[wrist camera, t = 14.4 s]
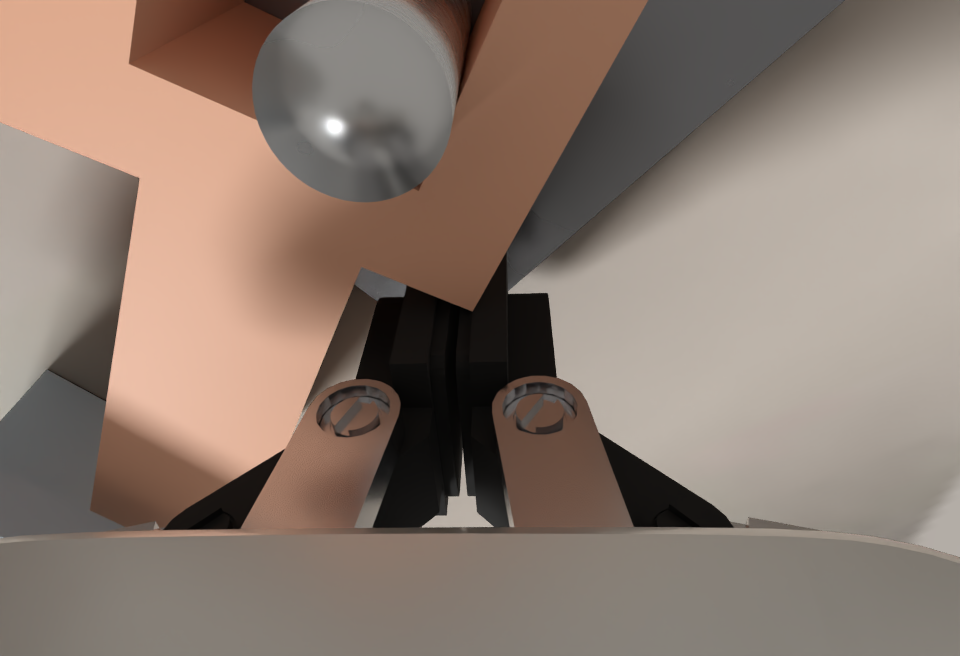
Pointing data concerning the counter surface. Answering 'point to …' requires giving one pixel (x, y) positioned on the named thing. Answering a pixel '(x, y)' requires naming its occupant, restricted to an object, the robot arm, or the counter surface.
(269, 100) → the pintle station
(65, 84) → the link
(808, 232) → the counter surface
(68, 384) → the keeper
